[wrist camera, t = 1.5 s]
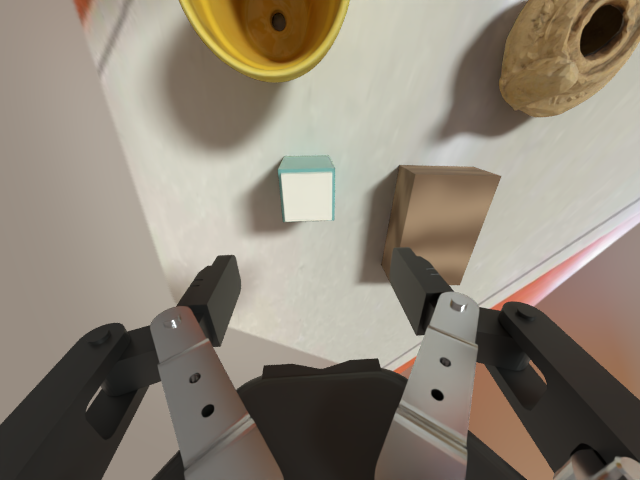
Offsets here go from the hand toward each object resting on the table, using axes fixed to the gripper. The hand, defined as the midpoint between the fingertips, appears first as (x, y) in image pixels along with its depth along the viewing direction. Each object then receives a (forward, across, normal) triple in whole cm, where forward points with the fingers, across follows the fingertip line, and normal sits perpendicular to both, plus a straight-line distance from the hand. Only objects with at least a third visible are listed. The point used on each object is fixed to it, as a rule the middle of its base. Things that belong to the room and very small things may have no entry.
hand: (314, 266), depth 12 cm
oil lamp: (+18, -24, -13) cm, 33 cm away
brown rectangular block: (+19, -15, +6) cm, 24 cm away
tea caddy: (+18, 0, 0) cm, 18 cm away
